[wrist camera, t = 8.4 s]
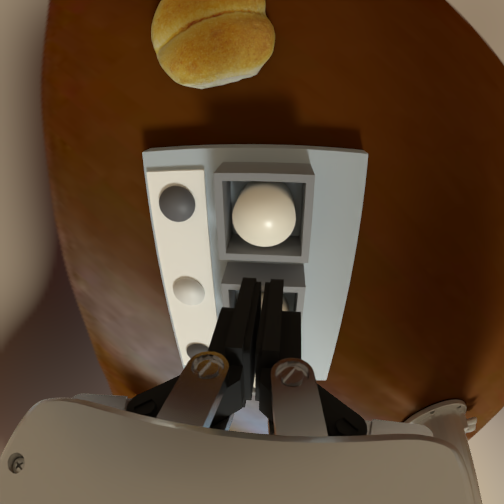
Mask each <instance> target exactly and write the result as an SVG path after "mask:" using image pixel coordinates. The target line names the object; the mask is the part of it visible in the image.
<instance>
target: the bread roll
mask: <svg viewBox="0 0 504 504" xmlns="http://www.w3.org/2000/svg"><path fill="white" fill-rule="evenodd" d="M151 38H152V42H153V46H154V49H155V51H156V54H157V58H158V60H159V63H160V65H161V67H162V68H163V69H164V71H165V72H166V73H167V74H168V75H169V76H170V77H171V78H172V79H173V80H174V81H175V82H177V83H179V84H181V85H184V86H188V87H194V88H199V89H204V88H209V87H214V86H219V85H224V84H228V83H230V82H235V81H239V80H241V79H243V78H249V77H252V76H254V75H257V73H258V72H259V70H260V69H261V67H262V66H263V65H264V64H265V63H266V61H267V60H268V59H269V58H270V56H271V55H272V52H273V49H274V42H275V32H274V28H273V26H272V24H271V22H270V21H269V19H268V18H267V16H266V13H265V0H161V2H160V3H159V5H158V7H157V9H156V12H155V15H154V18H153V21H152V26H151Z"/></svg>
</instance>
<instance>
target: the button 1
mask: <svg viewBox="0 0 504 504" xmlns="http://www.w3.org/2000/svg"><path fill="white" fill-rule="evenodd" d="M232 220H233V225H234V228H235V230H236V231H237V233H238V234H239V236H240V237H241V238H243V239H244V240H245V241H247V242H248V243H250V244H253V245H256V246H261V247H269V246H274V245H277V244H279V243H281V242H283V241H284V240H286V239H287V238H288V237H289V236H290V234H291V233H292V231H293V229H294V226H295V222H296V214H295V203H294V198H293V195H292V193H291V191H290V189H289V188H288V187H287V186H286V185H285V184H284V183H282V182H267V181H250V182H249V183H247V184H246V185H245V186H244V187H243V189H242V190H241V192H240V194H239V196H238V199H237V201H236V203H235V206H234V209H233V213H232Z"/></svg>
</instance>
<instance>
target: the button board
mask: <svg viewBox="0 0 504 504" xmlns="http://www.w3.org/2000/svg"><path fill="white" fill-rule="evenodd" d="M142 154H143V164H144V172H145V180H146V188H147V195H148V202H149V209H150V216H151V222H152V228H153V234H154V240H155V246H156V251H157V256H158V262H159V267H160V272H161V277H162V282H163V287H164V291H165V296H166V300H167V305H168V309H169V314H170V318H171V322H172V326H173V330H174V334H175V338H176V342H177V346H178V350H179V354H180V358H181V361H182V365H183V369H184V368H185V366H186V364H187V363H188V361H189V360H190V359H191V358H192V357H193V356H194V355H196V354H198V353H201V352H206V351H208V349H209V345H210V342H211V339H212V336H213V333H214V329H215V326H216V323H217V320H218V317H219V314H220V310H221V308H222V307H230V308H235V306H236V302H237V298H238V294H239V290H240V286H241V283H242V279H243V277H248V278H256V279H257V282H261V291H264V288H265V282H270V281H271V279H284V287H283V295H284V296H285V297H286V299H287V301H288V303H289V311H295V312H301V360H304V361H306V362H307V363H308V364H309V365H310V366H311V367H312V369H313V371H314V374H315V378H316V380H326V379H327V375H328V372H329V368H330V364H331V361H332V357H333V353H334V349H335V345H336V341H337V337H338V333H339V329H340V325H341V321H342V316H343V312H344V307H345V303H346V298H347V293H348V289H349V284H350V279H351V273H352V268H353V263H354V257H355V252H356V246H357V240H358V233H359V227H360V220H361V213H362V206H363V198H364V190H365V182H366V173H367V163H368V153H366V152H365V151H364V150H358V149H347V148H335V147H320V146H302V145H274V144H220V145H191V146H173V147H159V148H150V149H148V150H146V151H144V152H142ZM250 181H267V182H282V183H284V184H285V185H286V186H287V187H288V188H289V189H290V191H291V193H292V195H293V198H294V203H295V214H296V222H295V226H294V229H293V231H292V233H291V234H290V236H289V237H288V238H287V239H286V240H284V241H283V242H281V243H279V244H277V245H274V246H269V247H261V246H256V245H253V244H250V243H248V242H247V241H245V240H244V239H243V238H241V237H240V236H239V234H238V233H237V231H236V230H235V228H234V225H233V220H232V213H233V209H234V206H235V203H236V201H237V199H238V196H239V194H240V192H241V190H242V189H243V187H244V186H245V185H246V184H247V183H249V182H250ZM252 395H255V388H254V387H253V392H252Z"/></svg>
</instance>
